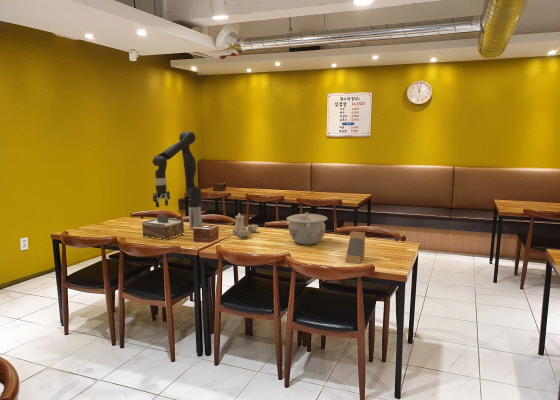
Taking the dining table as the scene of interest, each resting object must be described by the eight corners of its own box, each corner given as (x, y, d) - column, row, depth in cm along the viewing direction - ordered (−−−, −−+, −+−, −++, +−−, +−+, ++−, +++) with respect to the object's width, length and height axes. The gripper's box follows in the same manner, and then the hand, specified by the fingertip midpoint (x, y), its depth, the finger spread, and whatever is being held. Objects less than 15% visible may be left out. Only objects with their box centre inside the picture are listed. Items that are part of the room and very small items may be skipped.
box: (162, 231, 315) (161, 217, 313) (184, 234, 304) (183, 219, 302) (143, 236, 298) (142, 221, 297) (165, 240, 288) (164, 224, 286)
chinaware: (248, 242, 286) (250, 218, 283) (226, 238, 289) (227, 215, 286) (258, 232, 313) (260, 211, 310) (238, 230, 316) (239, 208, 313)
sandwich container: (344, 262, 231) (344, 236, 229) (350, 255, 245) (350, 231, 243) (359, 264, 228) (360, 238, 225) (364, 257, 242) (365, 232, 239)
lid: (161, 220, 312) (161, 212, 311) (181, 222, 302) (180, 214, 301) (144, 224, 298) (144, 216, 297) (164, 227, 288) (164, 218, 287)
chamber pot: (302, 235, 296) (302, 207, 292) (335, 241, 278) (335, 211, 275) (277, 243, 274) (277, 213, 271) (311, 250, 257) (311, 217, 254)
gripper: (164, 183, 303) (165, 204, 306) (149, 184, 291) (150, 207, 294) (171, 183, 300) (172, 205, 302) (157, 185, 287) (158, 208, 290)
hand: (162, 206), depth 298 cm, fingers open, 8 cm apart
